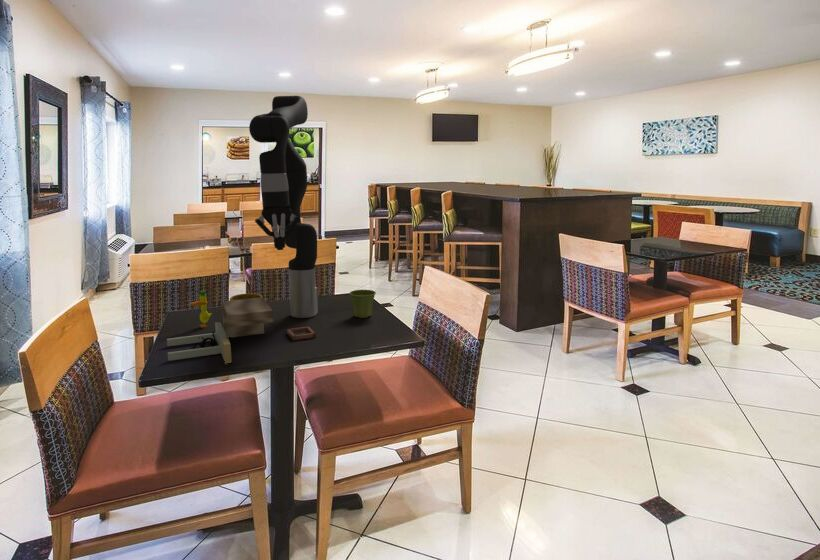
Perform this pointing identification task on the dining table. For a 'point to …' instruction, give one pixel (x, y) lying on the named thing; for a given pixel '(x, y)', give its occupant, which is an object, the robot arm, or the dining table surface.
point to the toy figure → (202, 308)
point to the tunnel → (245, 316)
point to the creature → (205, 342)
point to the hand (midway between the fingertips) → (279, 249)
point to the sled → (222, 348)
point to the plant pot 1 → (245, 296)
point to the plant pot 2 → (362, 302)
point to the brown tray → (301, 333)
